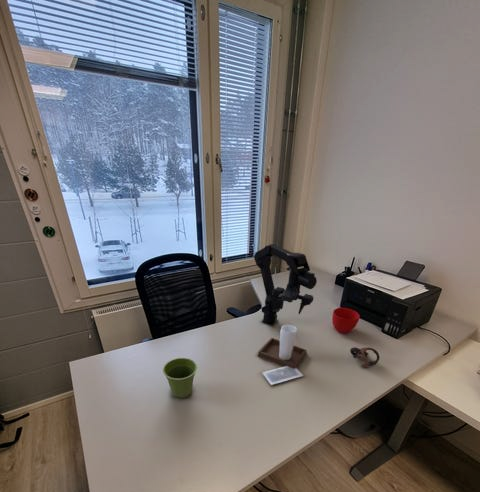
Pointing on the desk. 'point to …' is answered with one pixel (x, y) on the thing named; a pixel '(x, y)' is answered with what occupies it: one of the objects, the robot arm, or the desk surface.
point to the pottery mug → (364, 355)
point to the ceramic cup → (345, 319)
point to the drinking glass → (287, 341)
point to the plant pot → (180, 376)
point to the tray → (272, 354)
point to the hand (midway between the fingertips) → (290, 311)
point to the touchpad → (281, 374)
